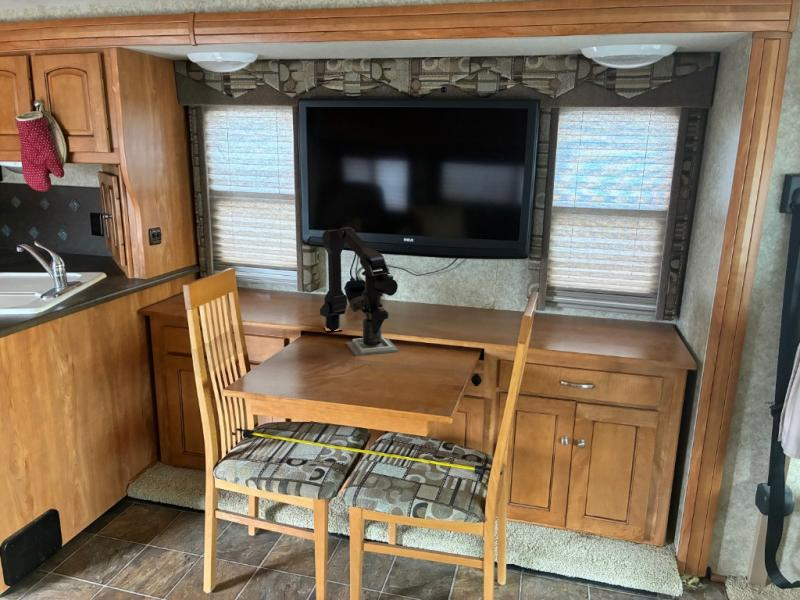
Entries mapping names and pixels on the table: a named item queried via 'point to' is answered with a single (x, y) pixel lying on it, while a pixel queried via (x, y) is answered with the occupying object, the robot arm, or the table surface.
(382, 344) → the coaster tray
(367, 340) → the supplement bottle
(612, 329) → the table surface
